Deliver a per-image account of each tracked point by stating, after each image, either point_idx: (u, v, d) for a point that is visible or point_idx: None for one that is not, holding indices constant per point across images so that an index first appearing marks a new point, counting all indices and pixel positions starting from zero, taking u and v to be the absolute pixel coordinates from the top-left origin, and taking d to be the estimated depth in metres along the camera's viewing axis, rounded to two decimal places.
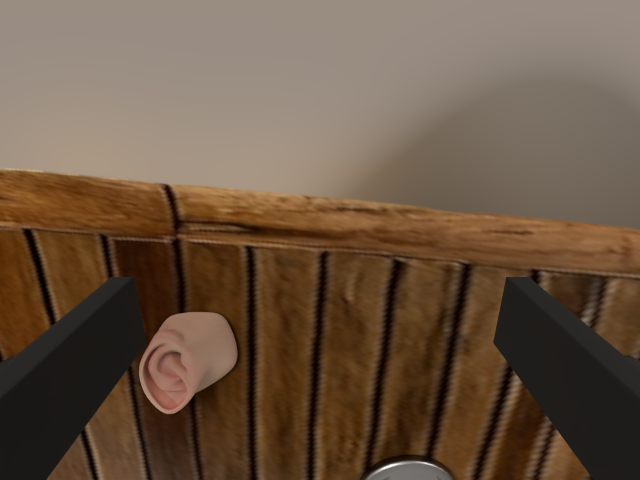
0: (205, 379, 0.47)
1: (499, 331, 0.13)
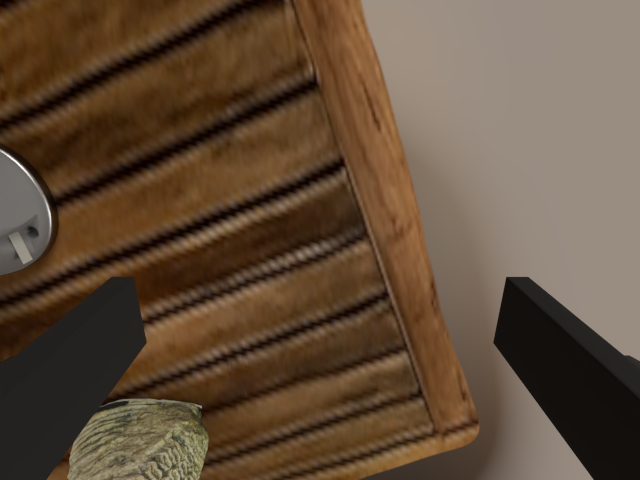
0: None
1: (499, 331, 0.13)
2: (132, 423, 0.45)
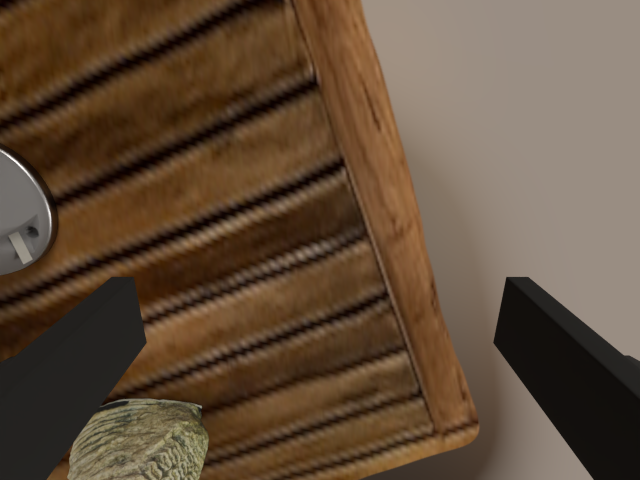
0: None
1: (499, 331, 0.13)
2: (132, 423, 0.45)
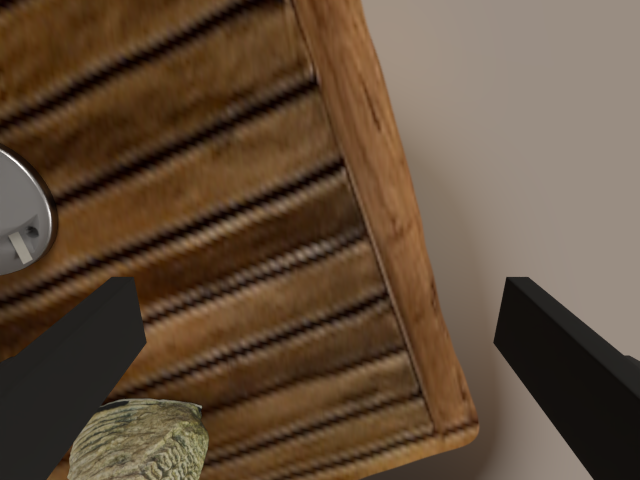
0: None
1: (499, 331, 0.13)
2: (132, 423, 0.45)
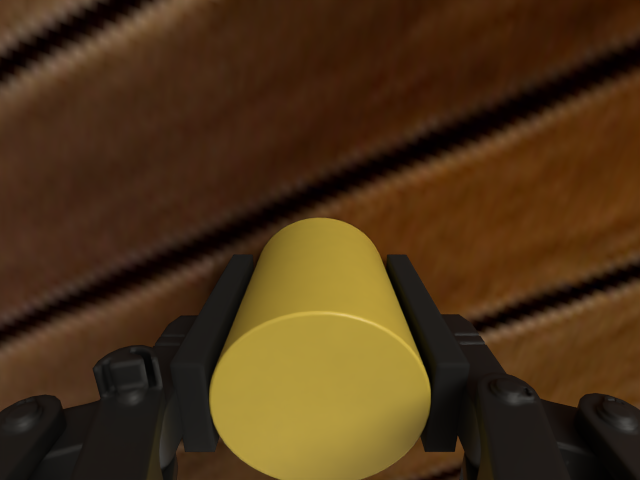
0: None
1: None
2: None
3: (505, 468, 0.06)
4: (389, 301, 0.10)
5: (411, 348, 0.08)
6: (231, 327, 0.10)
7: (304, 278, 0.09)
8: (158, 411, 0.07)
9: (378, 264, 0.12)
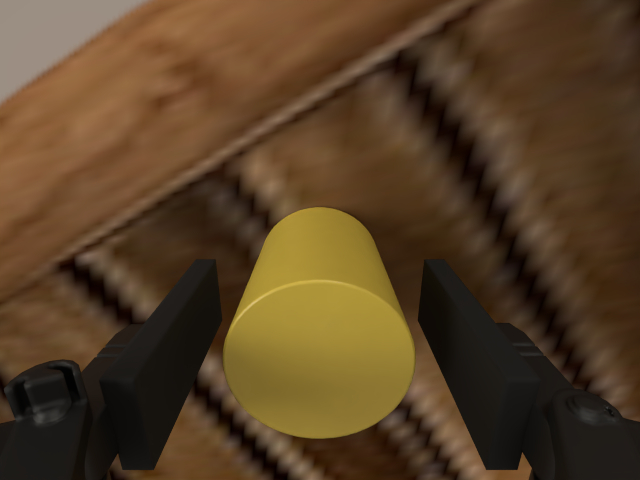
0: None
1: (421, 309, 0.14)
2: None
3: None
4: (380, 276, 0.11)
5: (398, 313, 0.09)
6: (241, 299, 0.11)
7: (305, 255, 0.11)
8: (82, 426, 0.07)
9: (372, 247, 0.14)
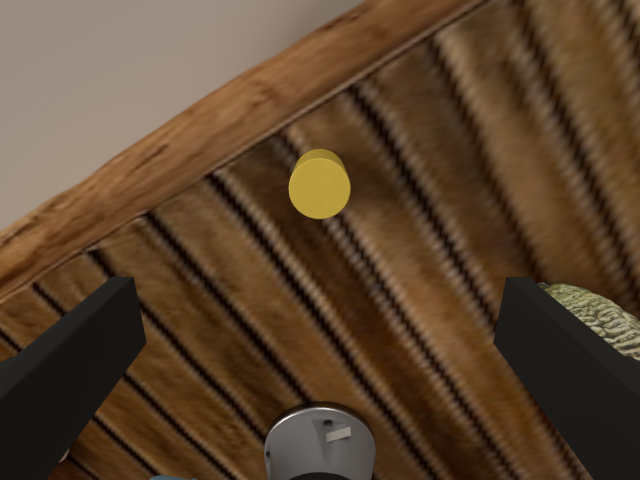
0: None
1: (499, 331, 0.13)
2: None
3: None
4: (340, 164, 0.32)
5: (344, 169, 0.31)
6: (293, 172, 0.32)
7: (315, 156, 0.32)
8: None
9: (340, 161, 0.35)
